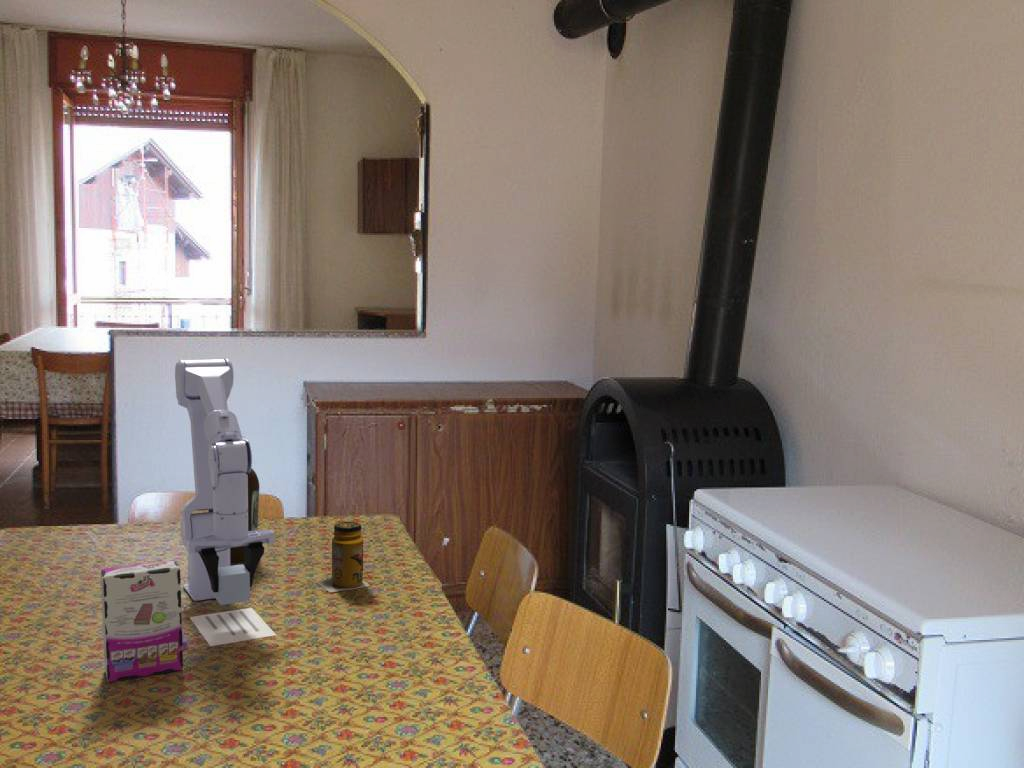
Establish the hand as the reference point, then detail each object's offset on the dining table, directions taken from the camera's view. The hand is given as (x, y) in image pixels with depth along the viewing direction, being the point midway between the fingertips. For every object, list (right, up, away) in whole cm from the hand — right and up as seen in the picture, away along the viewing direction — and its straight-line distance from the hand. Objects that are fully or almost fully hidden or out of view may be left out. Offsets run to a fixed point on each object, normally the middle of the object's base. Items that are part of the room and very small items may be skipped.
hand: (231, 588), depth 178 cm
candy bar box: (-8, -9, -19) cm, 23 cm away
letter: (0, -7, +1) cm, 7 cm away
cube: (0, -2, 0) cm, 2 cm away
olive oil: (-10, -2, +41) cm, 42 cm away
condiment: (+15, -4, +24) cm, 29 cm away
